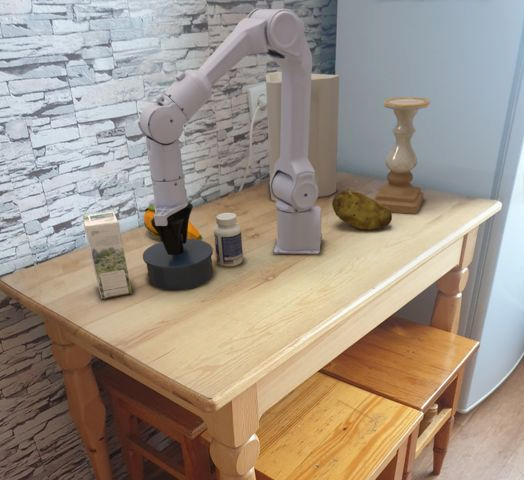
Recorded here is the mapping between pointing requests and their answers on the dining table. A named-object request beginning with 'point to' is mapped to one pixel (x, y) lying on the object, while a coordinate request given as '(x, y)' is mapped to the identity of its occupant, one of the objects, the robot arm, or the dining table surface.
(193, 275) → the pot
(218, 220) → the pill bottle
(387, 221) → the potato
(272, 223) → the dining table surface
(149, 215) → the corn
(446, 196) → the dining table surface
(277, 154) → the paper bag
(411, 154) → the candle holder
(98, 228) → the syrup box
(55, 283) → the dining table surface
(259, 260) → the dining table surface
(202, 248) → the lid
